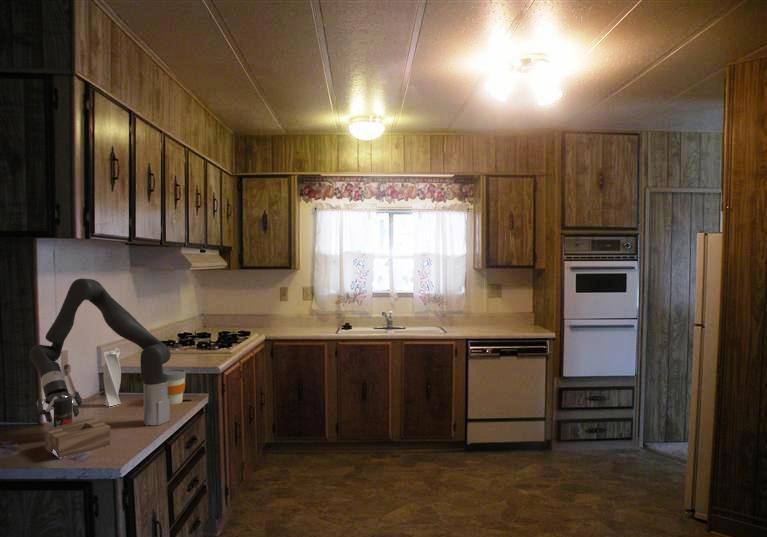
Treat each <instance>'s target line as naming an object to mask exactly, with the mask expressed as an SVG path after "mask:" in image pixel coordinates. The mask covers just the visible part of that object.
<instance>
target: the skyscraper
mask: <svg viewBox="0 0 767 537" xmlns="http://www.w3.org/2000/svg"><path fill="white" fill-rule="evenodd" d="M117 350H118V351H117ZM120 354H121V350H120V348H119V347H118V348H115V350H110V351H105V352H104V353H103V356H104V357H103V358H104V359H105V361H104V366H103V373H102V374H103V378H102V379H103V386H104V392H105V396H106V397H105V399H104V400H105V401H104V404H103V406H104V405H106V406H105V407H107V406H109V407H108V408H111V407H110V406H113V405H117V404H121V405H122V403H121V400H120V397H119V391H120V387H121V383H122V382H121V381H122V380H121V379H122V371H121V370H122V368H121V364H120V359H119V357H120ZM117 406H118V405H117ZM113 407H114V406H113Z"/></svg>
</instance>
